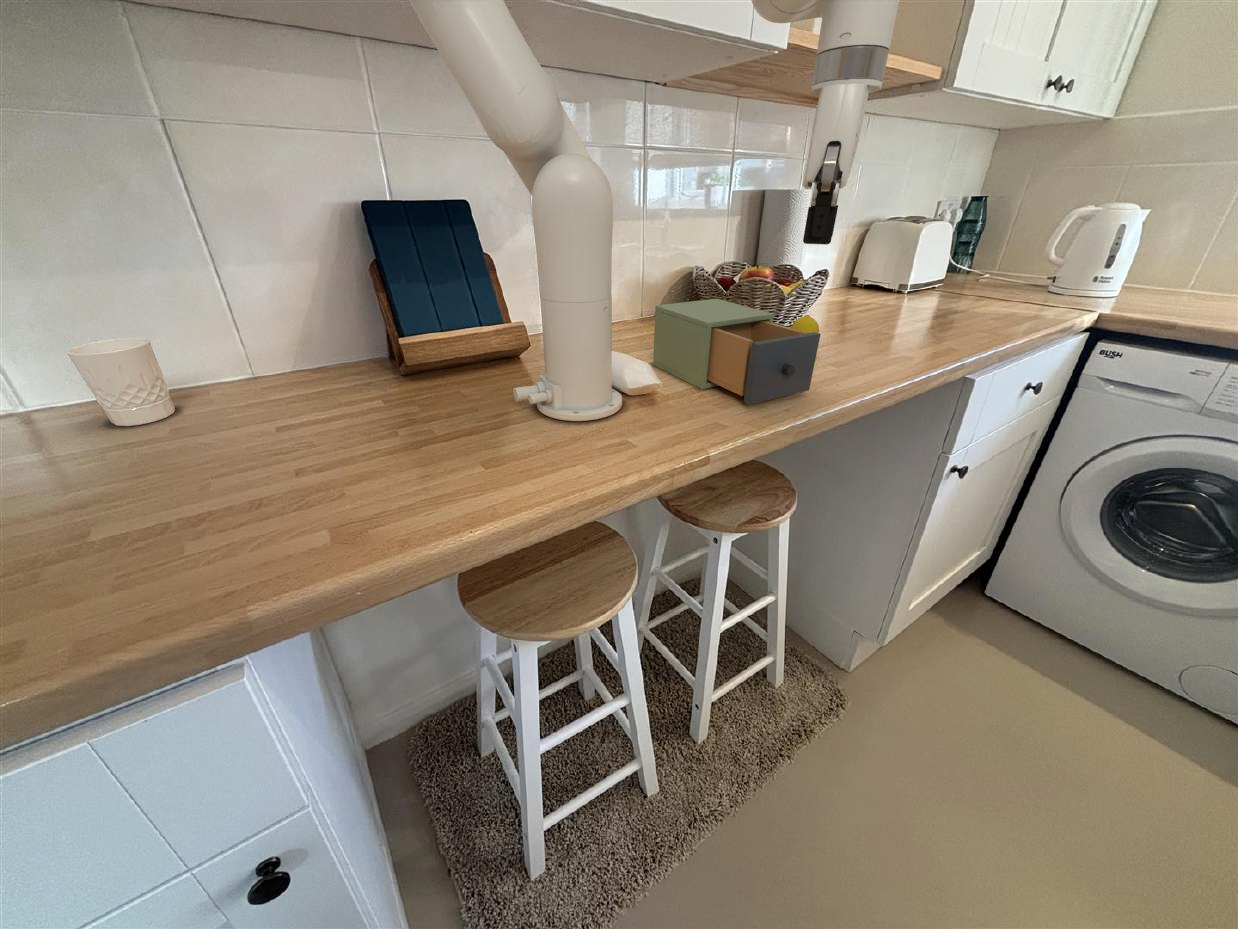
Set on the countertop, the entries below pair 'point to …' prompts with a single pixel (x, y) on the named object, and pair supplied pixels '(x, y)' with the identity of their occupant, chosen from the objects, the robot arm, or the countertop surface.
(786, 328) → the drawer
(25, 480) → the countertop surface
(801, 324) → the lemon
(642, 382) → the white pouch
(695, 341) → the cabinet
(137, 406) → the white cup
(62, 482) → the countertop surface
